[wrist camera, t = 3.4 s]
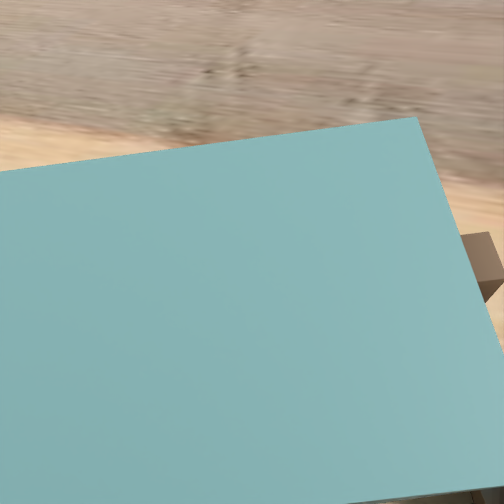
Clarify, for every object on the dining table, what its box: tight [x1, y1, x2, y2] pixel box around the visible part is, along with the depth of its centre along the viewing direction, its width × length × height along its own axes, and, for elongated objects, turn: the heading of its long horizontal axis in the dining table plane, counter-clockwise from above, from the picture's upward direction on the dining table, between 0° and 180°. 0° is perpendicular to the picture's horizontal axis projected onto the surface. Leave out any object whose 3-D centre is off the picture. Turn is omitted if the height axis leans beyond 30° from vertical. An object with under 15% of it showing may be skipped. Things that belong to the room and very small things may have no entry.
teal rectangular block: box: [0, 117, 504, 504], centre depth 10 cm, size 6×3×14 cm, turn 96°
